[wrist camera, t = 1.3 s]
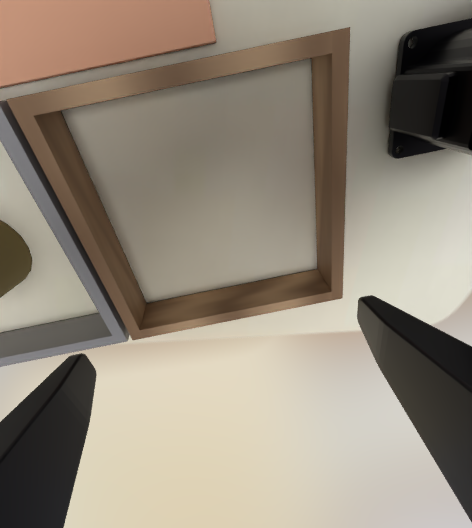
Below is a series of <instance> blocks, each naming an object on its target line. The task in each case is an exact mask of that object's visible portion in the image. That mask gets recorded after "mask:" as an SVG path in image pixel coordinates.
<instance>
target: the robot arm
mask: <svg viewBox="0 0 472 528" xmlns="http://www.w3.org/2000/svg"><path fill="white" fill-rule="evenodd" d="M410 38H412V39H413V44H412V46H411V47H410V48H409V46H408V42H409V40H410ZM389 127H390V128H391V130H390V140H389V150H388V152H389V155H390V156H391V157H393V158H403V157H408V156H413V155H418V154H423V153H428V152H433V151H437V150H442V149H451V150H454V151H458V152H462V153H466V154H469V155H472V18H471V19H467V20H462V21H457V22H452V23H448V24H443V25H438V26H433V27H428V28H424V29H419V30H414V31H410V32H408V33H406V34H405V35H404V36H403V37H402V39H401V40H400V44H399V52H398V62H397V72H396V78H395V80H394V81H393V90H392V100H391V110H390V120H389ZM399 146H400V150H399V151H398V152H397V153H396V149H397V148H398V147H399ZM357 319H358V323H359V325H360V327H361V329H362V332H363V334H364V336H365V338H366V340H367V343H368V345H369V347H370V349H371V351H372V353H373V356H374V358H375V360H376V362H377V364H378V366H379V368H380V370H381V371H382V373H383V375H384V377H385V378H386V380H387V382H388V383H389V385H390V387H391V388H392V390H393V392H394V393H395V395H396V396H397V398H398V400H399V402H400V403H401V405H402V407H403V408H404V410H405V412H406V413H407V415H408V417H409V418H410V420H411V421H412V423H413V425H414V426H415V428H416V430H417V432H418V433H419V435H420V437H421V438H422V440H423V442H424V443H425V445H426V447H427V448H428V450H429V452H430V453H431V455H432V457H433V458H434V460H435V462H436V463H437V465H438V467H439V468H440V470H441V472H442V474H443V475H444V477H445V479H446V480H447V482H448V483H449V485H450V487H451V489H452V490H453V492H454V494H455V495H456V497H457V498H458V500H459V502H460V504H461V505H462V507H463V509H464V510H465V512H466V513H467V515H468V517H469V519H470V520H471V522H472V347H471V346H470V345H468V344H466V343H464V342H462V341H460V340H458V339H456V338H454V337H452V336H450V335H448V334H446V333H445V332H443V331H440V330H438V329H437V328H435V327H433V326H431V325H429V324H427V323H425V322H423V321H421V320H419V319H417V318H416V317H414V316H412V315H410V314H408V313H406V312H404V311H402V310H400V309H398V308H396V307H394V306H392V305H390V304H389V303H387V302H385V301H383V300H381V299H379V298H377V297H375V296H372V295H370V296H365V297H361V298H359V300H358V312H357ZM95 382H96V370H95V368H94V366H93V365H92V364H91V362H90V361H89V359H88V358H87V356H86V355H85V354H82V353H81V354H76V355H72V356H69V357H68V358H67V359H66V360H65V361H64V362H63V363H62V364H61V365H60V366H59V367H58V368H57V369H56V370H54V371H53V372H52V373H51V374H50V375H49V376H48V377H47V378H46V379H45V380H44V381H43V382H42V383H41V384H40V385H39V386H38V387H37V388H36V389H35V390H34V391H32V392H31V393H30V394H29V395H28V396H27V397H26V398H25V399H24V400H23V401H22V402H21V403H20V404H19V405H18V406H17V407H16V408H15V409H14V410H13V411H11V412H10V413H9V415H7V416H6V417H5V418H4V419H3V420H2V421H1V422H0V528H63V527H64V523H65V519H66V515H67V511H68V507H69V503H70V499H71V495H72V491H73V487H74V483H75V479H76V475H77V471H78V467H79V463H80V459H81V455H82V451H83V447H84V443H85V439H86V435H87V431H88V427H89V422H90V416H91V410H92V403H93V396H94V389H95Z"/></svg>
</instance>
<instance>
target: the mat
mask: <svg viewBox="0 0 472 528" xmlns="http://www.w3.org/2000/svg"><path fill="white" fill-rule="evenodd" d="M215 42H216V38H215V33H214V27H213V21H212V15H211V9H210V3H209V0H0V88H4V87H9V86H13V85H18V84H23V83H28V82H32V81H37V80H42V79H47V78H51V77H56V76H61V75H66V74H70V73H75V72H80V71H84V70H89V69H94V68H99V67H103V66H108V65H113V64H118V63H122V62H127V61H132V60H137V59H141V58H146V57H151V56H156V55H160V54H165V53H170V52H175V51H179V50H184V49H189V48H194V47H198V46H203V45H208V44H213V43H215Z"/></svg>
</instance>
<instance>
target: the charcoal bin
mask: <svg viewBox="0 0 472 528" xmlns="http://www.w3.org/2000/svg"><path fill="white" fill-rule="evenodd" d="M0 141H1V143H2V144H3V146H4V148H5V150H6V151H7V153H8V155H9V157H10V158H11V160H12V162H13V163H14V165H15V167H16V169H17V170H18V172H19V174H20V176H21V177H22V179H23V181H24V183H25V184H26V186H27V188H28V190H29V191H30V193H31V195H32V197H33V198H34V200H35V202H36V204H37V205H38V207H39V209H40V210H41V212H42V214H43V216H44V217H45V219H46V221H47V223H48V224H49V226H50V228H51V230H52V231H53V233H54V235H55V237H56V238H57V240H58V242H59V244H60V245H61V247H62V249H63V251H64V252H65V254H66V256H67V257H68V259H69V261H70V263H71V264H72V266H73V268H74V270H75V271H76V273H77V275H78V277H79V278H80V280H81V282H82V284H83V285H84V287H85V289H86V291H87V292H88V294H89V296H90V298H91V299H92V301H93V303H94V304H95V306H96V308H97V310H98V311H99V313H97V314H92V315H87V316H82V317H78V318H73V319H68V320H63V321H58V322H53V323H48V324H43V325H38V326H33V327H28V328H23V329H18V330H13V331H8V332H3V333H0V367H2V366H7V365H11V364H16V363H21V362H26V361H31V360H36V359H41V358H46V357H51V356H56V355H61V354H66V353H71V352H76V351H81V350H86V349H91V348H96V347H101V346H106V345H111V344H116V343H121V342H126V341H128V338H129V332H128V330H127V328H126V326H125V324H124V322H123V321H122V319H121V317H120V315H119V313H118V311H117V309H116V307H115V305H114V304H113V302H112V300H111V298H110V296H109V294H108V292H107V290H106V288H105V286H104V285H103V283H102V281H101V279H100V277H99V275H98V273H97V271H96V269H95V267H94V266H93V264H92V262H91V260H90V258H89V256H88V254H87V252H86V250H85V248H84V247H83V245H82V243H81V241H80V239H79V237H78V235H77V233H76V231H75V229H74V228H73V226H72V224H71V222H70V220H69V218H68V216H67V214H66V212H65V211H64V209H63V207H62V205H61V203H60V201H59V199H58V197H57V195H56V193H55V192H54V190H53V188H52V186H51V184H50V182H49V180H48V178H47V176H46V174H45V173H44V171H43V169H42V167H41V165H40V163H39V161H38V159H37V157H36V155H35V154H34V152H33V150H32V148H31V146H30V144H29V142H28V140H27V138H26V136H25V135H24V133H23V131H22V129H21V127H20V125H19V123H18V121H17V119H16V118H15V116H14V114H13V112H12V110H11V108H10V106H9V104H8V102H7V101H0Z"/></svg>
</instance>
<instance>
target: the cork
mask: <svg viewBox="0 0 472 528" xmlns="http://www.w3.org/2000/svg"><path fill="white" fill-rule="evenodd" d="M31 265H32V258H31V254H30V251H29V248H28V246H27V245H26V243H25V242H24V240H23V239H22V237H21V236H20V235H19V234H18V233H17V232H16V231H14V230H13V229H12V228H11V227H10V226H9V225H7V224H6V223H4V222H2V221H0V298H1V297H2V296H3V295H4V294H6V293H7V292H8V291H10V290H11V289H12V288H14V287H15V286H16V285H18V284H19V283H20V282H22V281H23V280H24V279H25V278H26V277H27V275H28V274H29V272H30V271H31Z"/></svg>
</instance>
